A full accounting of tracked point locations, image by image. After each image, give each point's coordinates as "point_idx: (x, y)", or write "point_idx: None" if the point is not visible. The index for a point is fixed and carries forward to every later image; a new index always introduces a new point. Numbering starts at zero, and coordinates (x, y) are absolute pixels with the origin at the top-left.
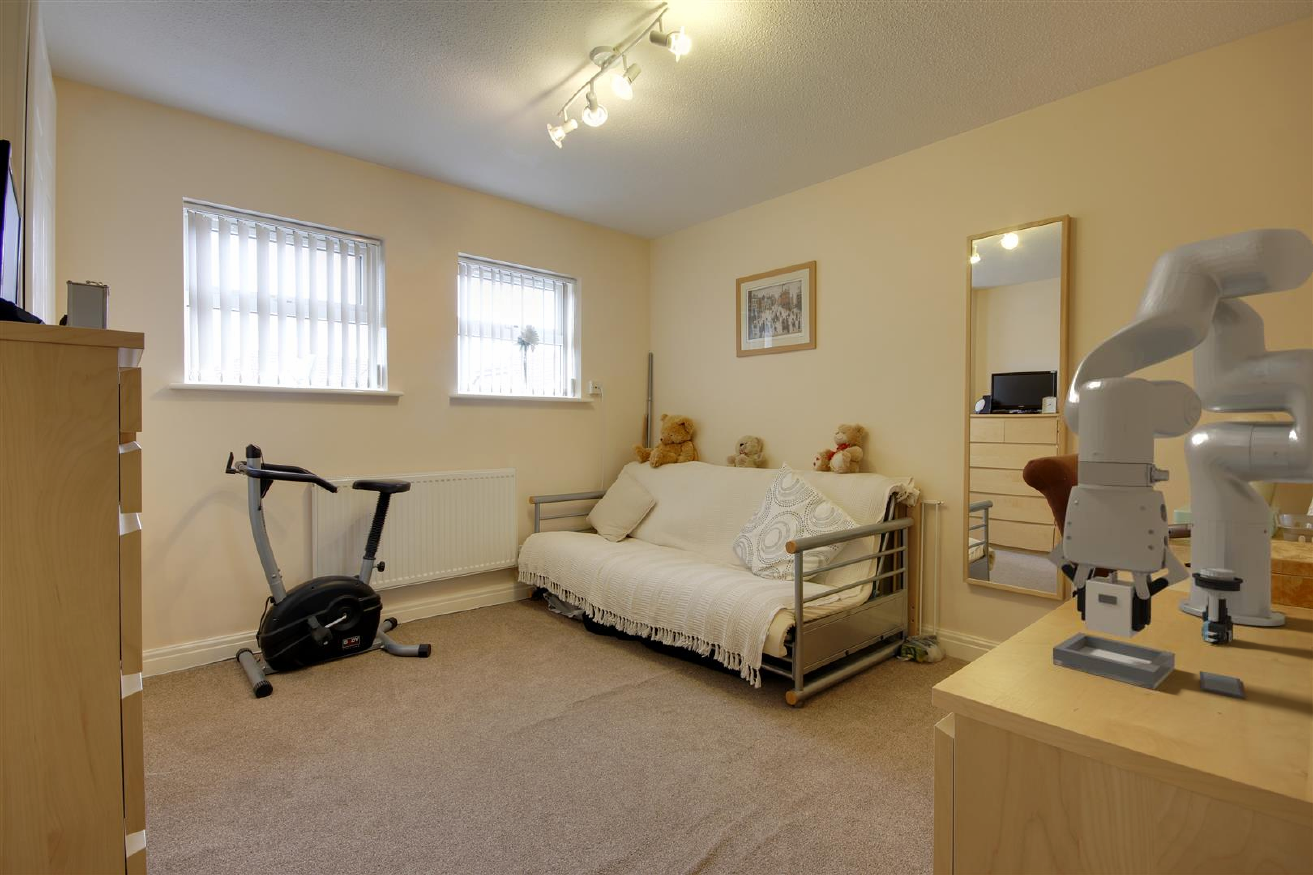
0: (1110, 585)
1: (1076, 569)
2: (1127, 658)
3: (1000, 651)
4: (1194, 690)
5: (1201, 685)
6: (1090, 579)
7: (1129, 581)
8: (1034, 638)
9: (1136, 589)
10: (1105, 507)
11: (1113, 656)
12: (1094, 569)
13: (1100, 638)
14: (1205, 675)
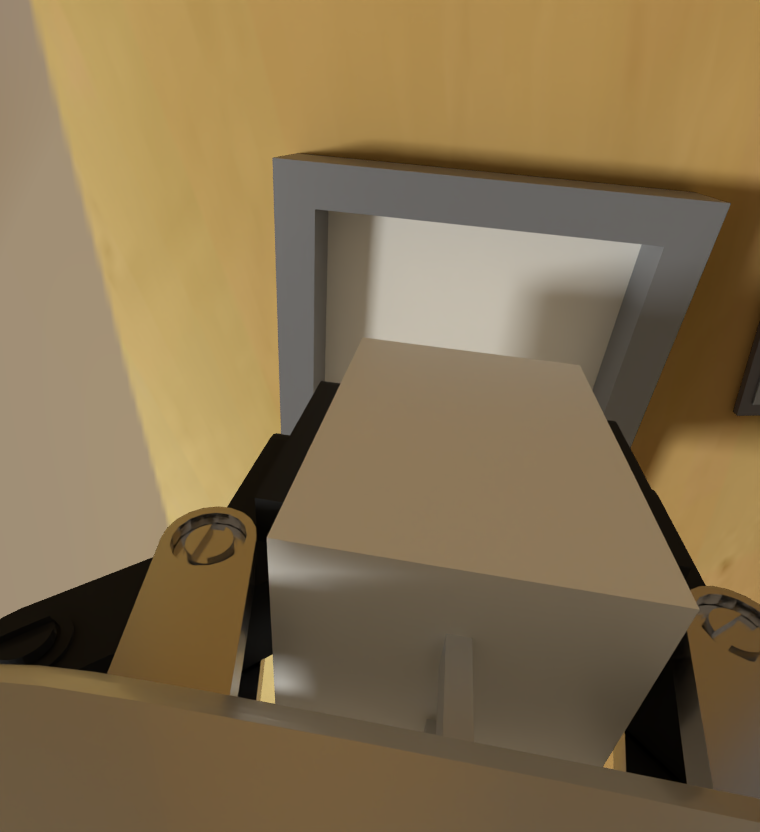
0: None
1: (99, 671)
2: (504, 266)
3: (149, 447)
4: (707, 425)
5: (748, 379)
6: (279, 693)
7: (585, 597)
8: (118, 167)
9: (617, 766)
10: None
11: (451, 280)
12: (236, 689)
13: (381, 204)
14: None
